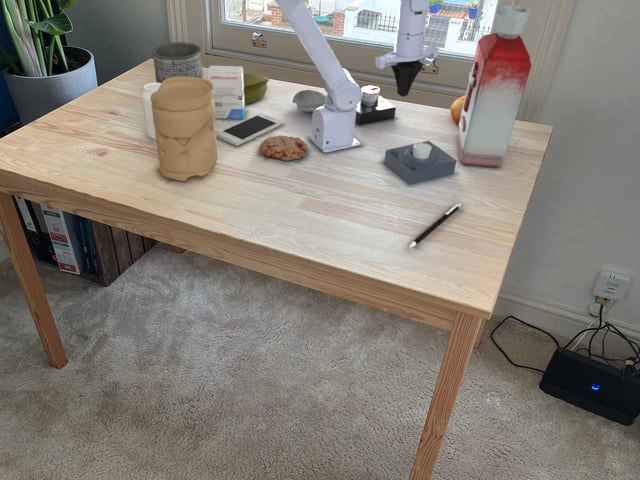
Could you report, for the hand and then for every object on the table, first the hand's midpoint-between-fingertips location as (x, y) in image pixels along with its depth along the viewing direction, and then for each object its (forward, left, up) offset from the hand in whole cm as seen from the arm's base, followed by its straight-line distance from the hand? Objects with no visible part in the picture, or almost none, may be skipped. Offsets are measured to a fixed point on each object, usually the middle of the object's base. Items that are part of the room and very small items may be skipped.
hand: (402, 94), depth 129 cm
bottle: (+13, -14, -10) cm, 21 cm away
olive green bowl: (-24, +35, -11) cm, 44 cm away
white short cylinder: (-6, -17, -6) cm, 19 cm away
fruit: (+19, -1, -11) cm, 22 cm away
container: (-49, +5, -10) cm, 51 cm away
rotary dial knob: (0, +13, -7) cm, 15 cm away
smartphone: (-30, +17, -10) cm, 36 cm away
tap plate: (0, +13, -10) cm, 17 cm away
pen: (-14, -35, -10) cm, 39 cm away
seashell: (-12, +21, -11) cm, 26 cm away
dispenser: (-4, -15, -10) cm, 18 cm away
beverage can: (-51, +23, -10) cm, 57 cm away
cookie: (-27, +4, -10) cm, 30 cm away
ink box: (-32, +28, -11) cm, 44 cm away
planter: (-40, +42, -10) cm, 59 cm away
